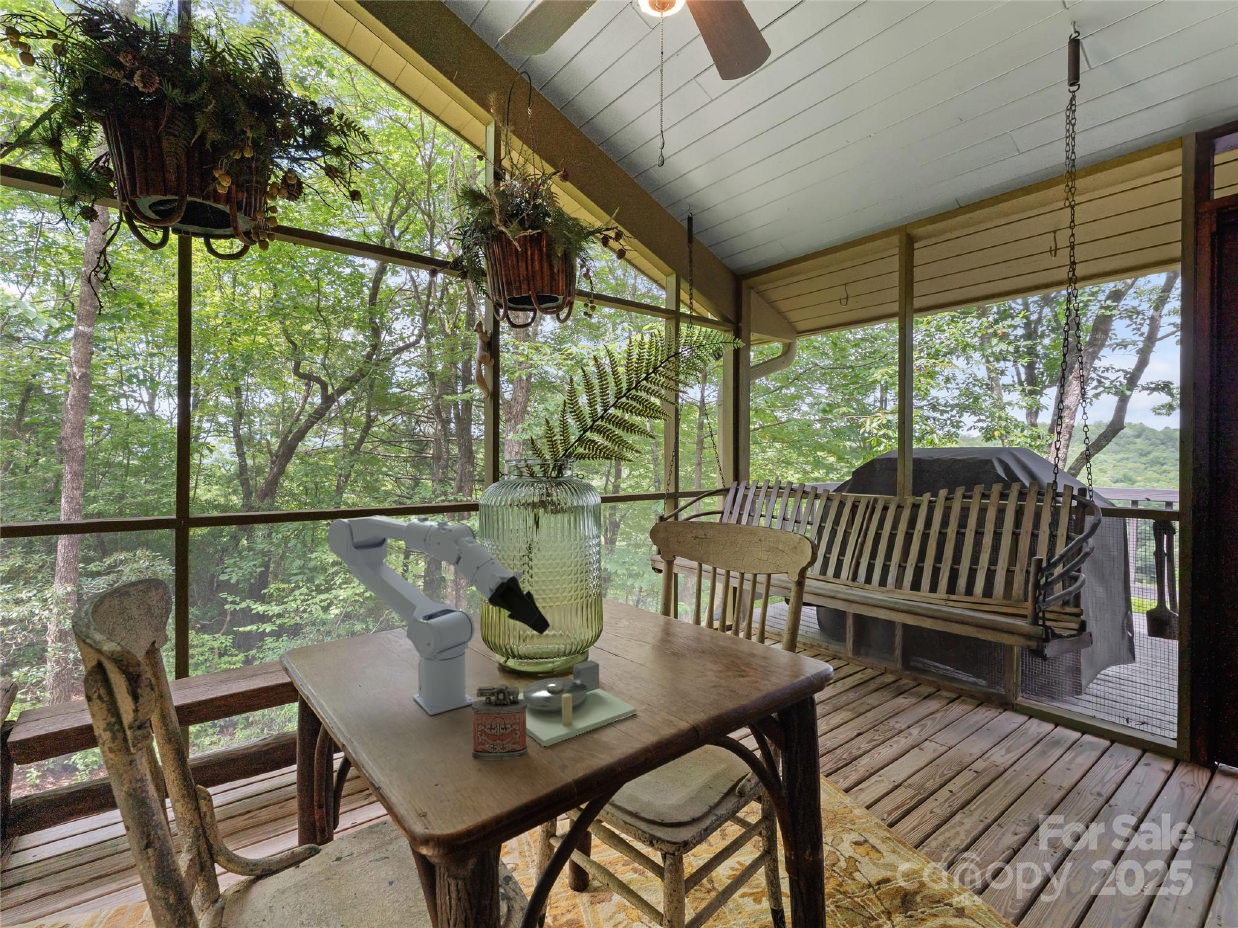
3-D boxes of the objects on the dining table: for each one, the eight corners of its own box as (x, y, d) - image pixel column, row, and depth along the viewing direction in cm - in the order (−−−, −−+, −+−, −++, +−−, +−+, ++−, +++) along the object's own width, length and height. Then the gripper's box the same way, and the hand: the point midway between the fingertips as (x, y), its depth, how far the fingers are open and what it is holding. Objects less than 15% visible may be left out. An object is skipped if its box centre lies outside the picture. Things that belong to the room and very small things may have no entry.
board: (492, 706, 99) (492, 675, 99) (578, 682, 110) (578, 653, 110) (543, 747, 85) (543, 710, 85) (636, 714, 96) (636, 681, 96)
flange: (543, 718, 90) (543, 690, 90) (511, 696, 98) (511, 670, 98) (613, 696, 98) (613, 670, 98) (578, 677, 107) (578, 653, 107)
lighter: (528, 747, 85) (528, 680, 85) (526, 758, 81) (525, 689, 81) (475, 748, 84) (474, 681, 84) (469, 760, 81) (469, 691, 81)
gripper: (488, 540, 91) (546, 593, 86) (514, 568, 104) (566, 615, 98) (456, 573, 89) (513, 629, 84) (486, 597, 102) (538, 647, 96)
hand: (540, 624), depth 91 cm, fingers open, 7 cm apart
